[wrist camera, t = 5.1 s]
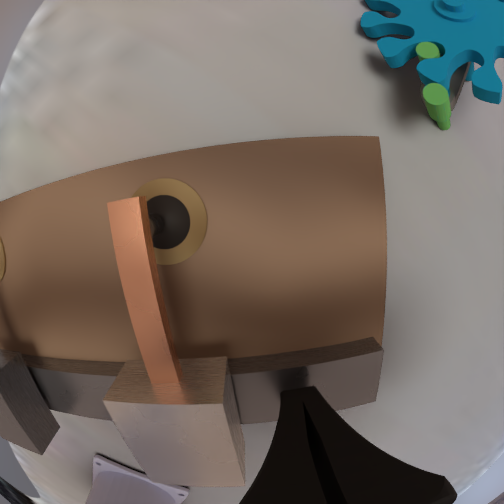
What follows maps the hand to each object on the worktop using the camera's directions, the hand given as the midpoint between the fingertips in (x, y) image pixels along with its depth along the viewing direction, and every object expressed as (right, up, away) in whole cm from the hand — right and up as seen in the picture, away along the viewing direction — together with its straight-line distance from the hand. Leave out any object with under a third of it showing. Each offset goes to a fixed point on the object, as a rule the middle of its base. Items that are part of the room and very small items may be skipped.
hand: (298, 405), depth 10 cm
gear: (+7, +17, 0) cm, 18 cm away
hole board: (-7, +4, +3) cm, 9 cm away
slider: (-5, +3, +1) cm, 6 cm away
